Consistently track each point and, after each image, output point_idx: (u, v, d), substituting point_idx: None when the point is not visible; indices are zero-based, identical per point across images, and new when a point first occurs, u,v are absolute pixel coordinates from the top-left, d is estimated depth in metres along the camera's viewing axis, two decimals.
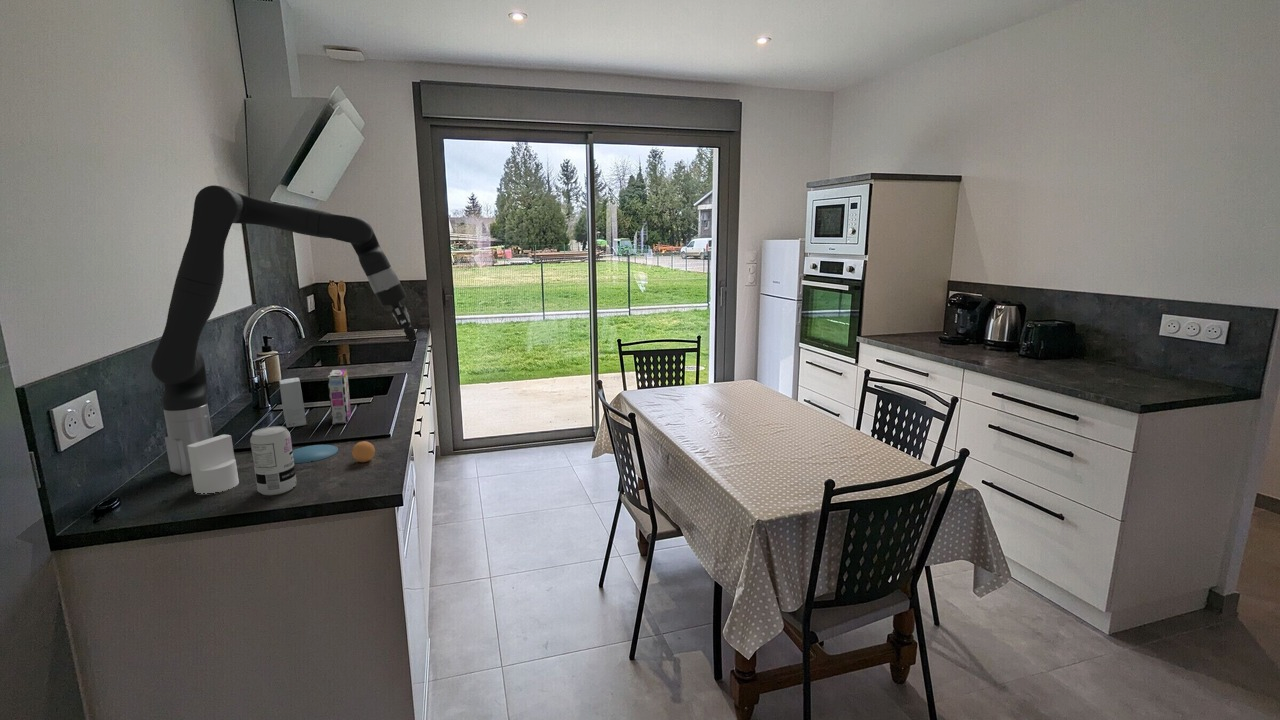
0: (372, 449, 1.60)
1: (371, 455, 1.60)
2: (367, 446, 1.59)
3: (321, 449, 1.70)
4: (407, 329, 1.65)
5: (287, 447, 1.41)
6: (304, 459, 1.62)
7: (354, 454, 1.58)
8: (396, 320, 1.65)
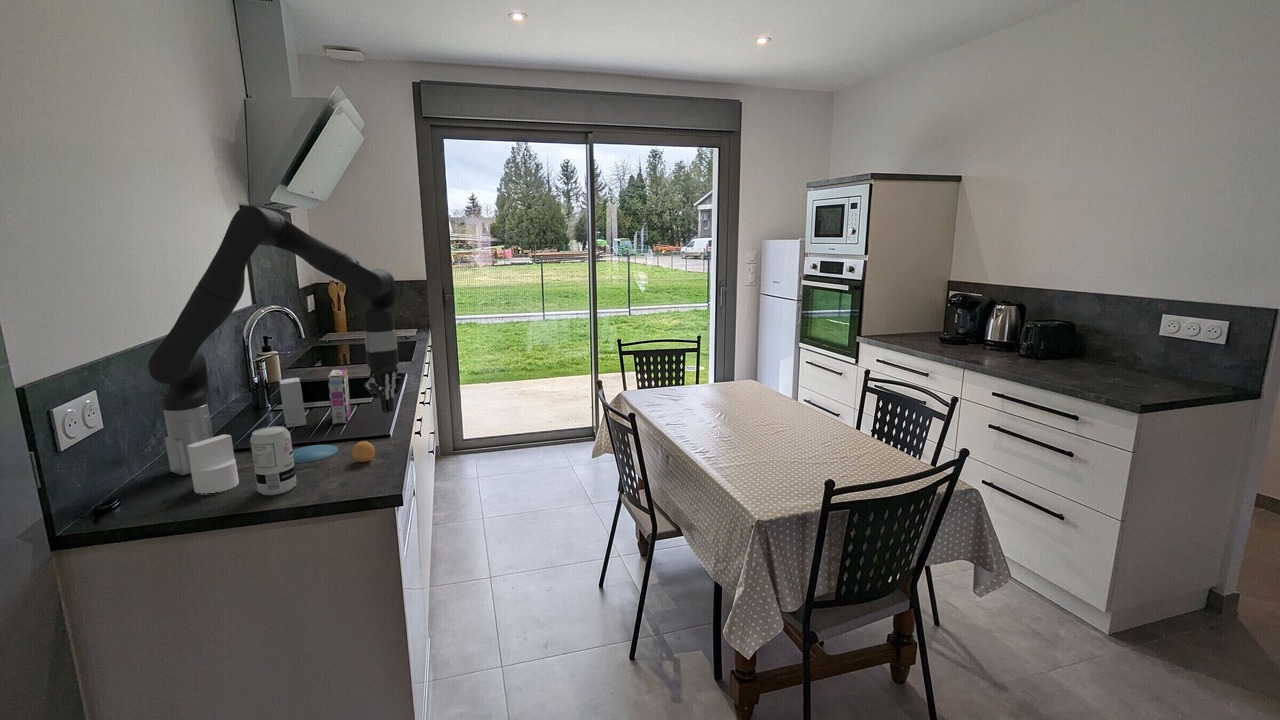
0: (372, 449, 1.60)
1: (371, 455, 1.60)
2: (367, 446, 1.59)
3: (321, 449, 1.70)
4: (382, 400, 1.53)
5: (287, 447, 1.41)
6: (304, 459, 1.62)
7: (354, 454, 1.58)
8: None
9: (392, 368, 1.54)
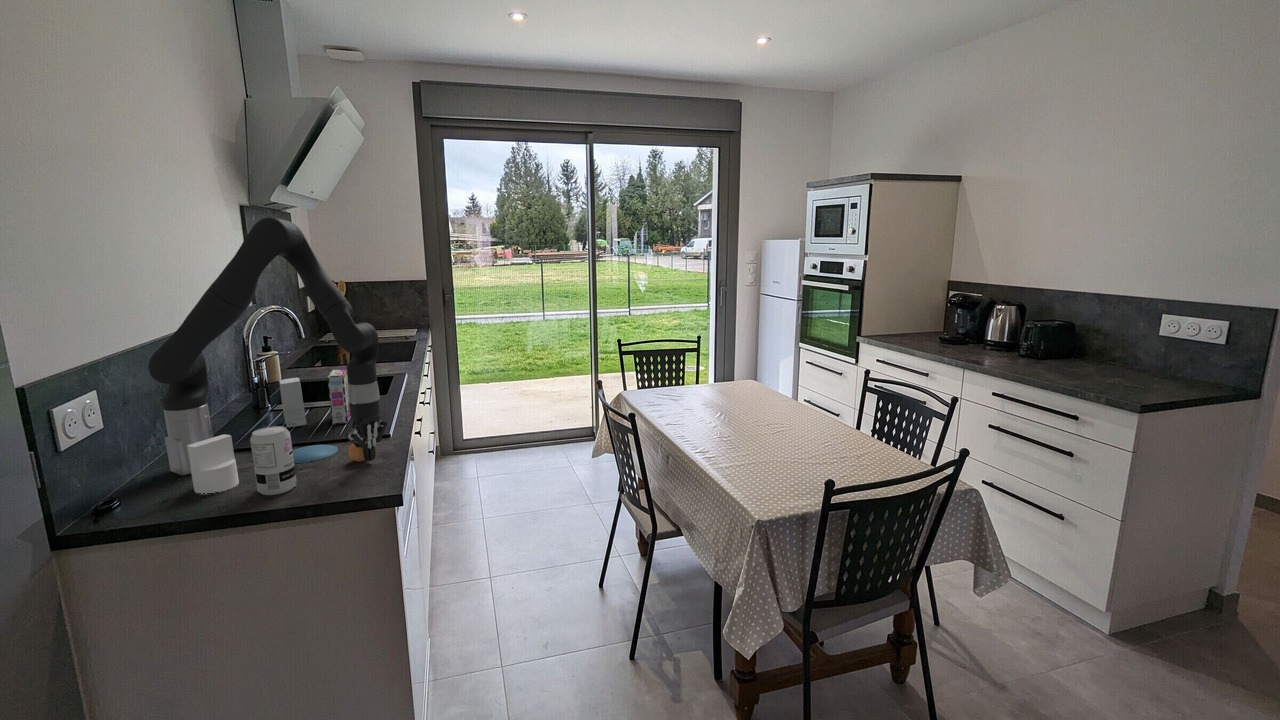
0: None
1: None
2: None
3: (321, 449, 1.70)
4: (364, 449, 1.57)
5: (287, 447, 1.41)
6: (304, 459, 1.62)
7: (350, 454, 1.58)
8: None
9: (374, 418, 1.59)
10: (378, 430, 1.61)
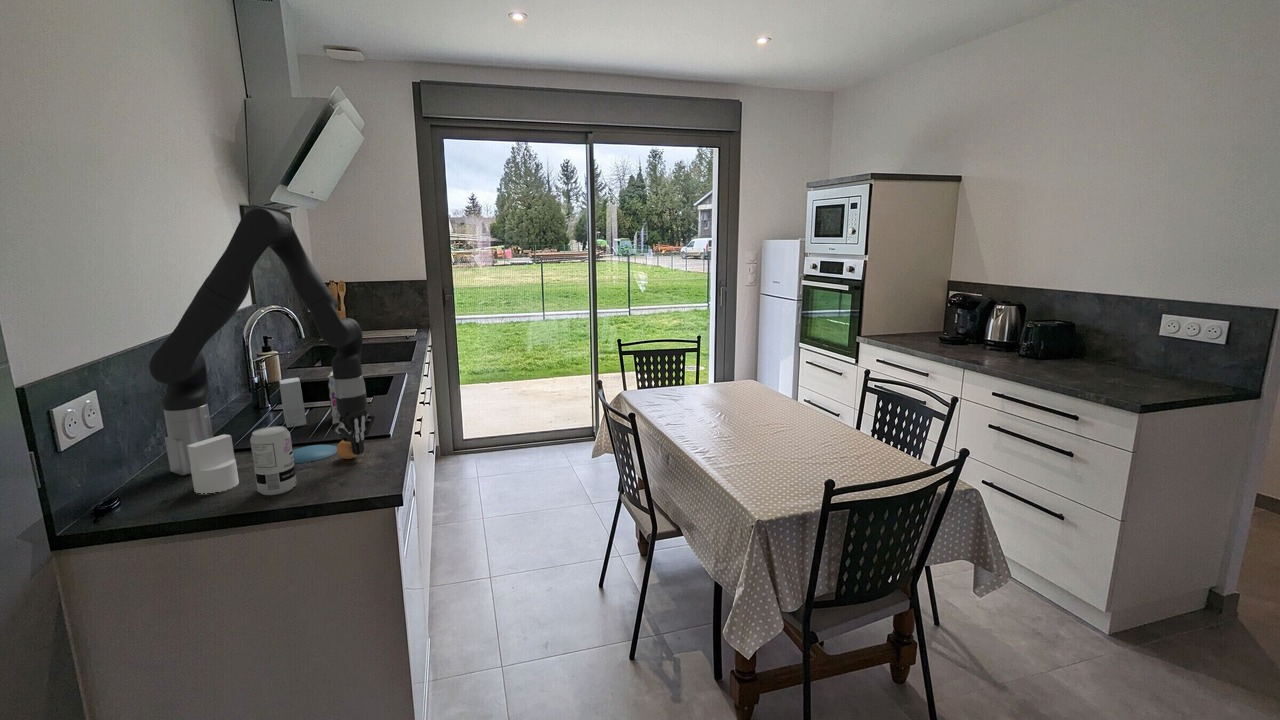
0: None
1: None
2: None
3: (321, 449, 1.70)
4: (352, 443, 1.59)
5: (287, 447, 1.41)
6: (304, 459, 1.62)
7: (339, 452, 1.60)
8: (345, 431, 1.59)
9: (361, 412, 1.60)
10: (366, 424, 1.63)
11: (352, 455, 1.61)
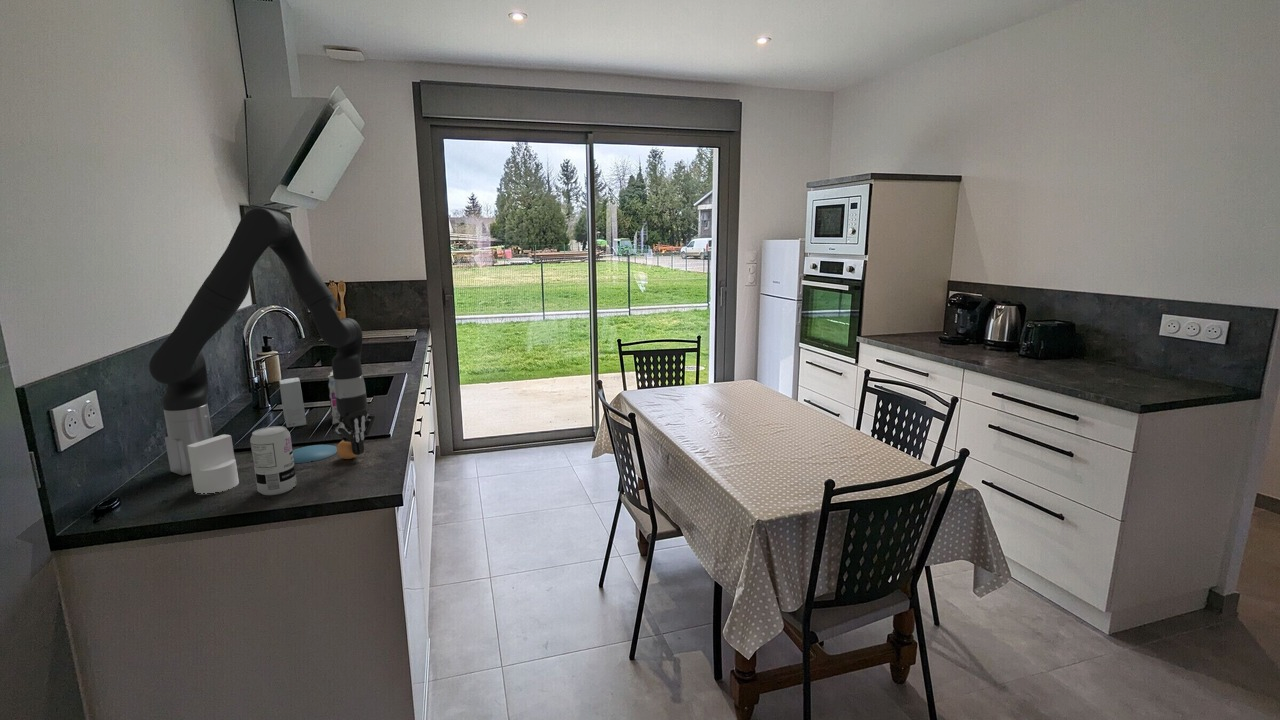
0: None
1: None
2: None
3: (321, 449, 1.70)
4: (352, 442, 1.59)
5: (287, 447, 1.41)
6: (304, 459, 1.62)
7: (339, 452, 1.60)
8: (345, 431, 1.59)
9: (361, 412, 1.60)
10: (366, 424, 1.63)
11: (352, 455, 1.61)
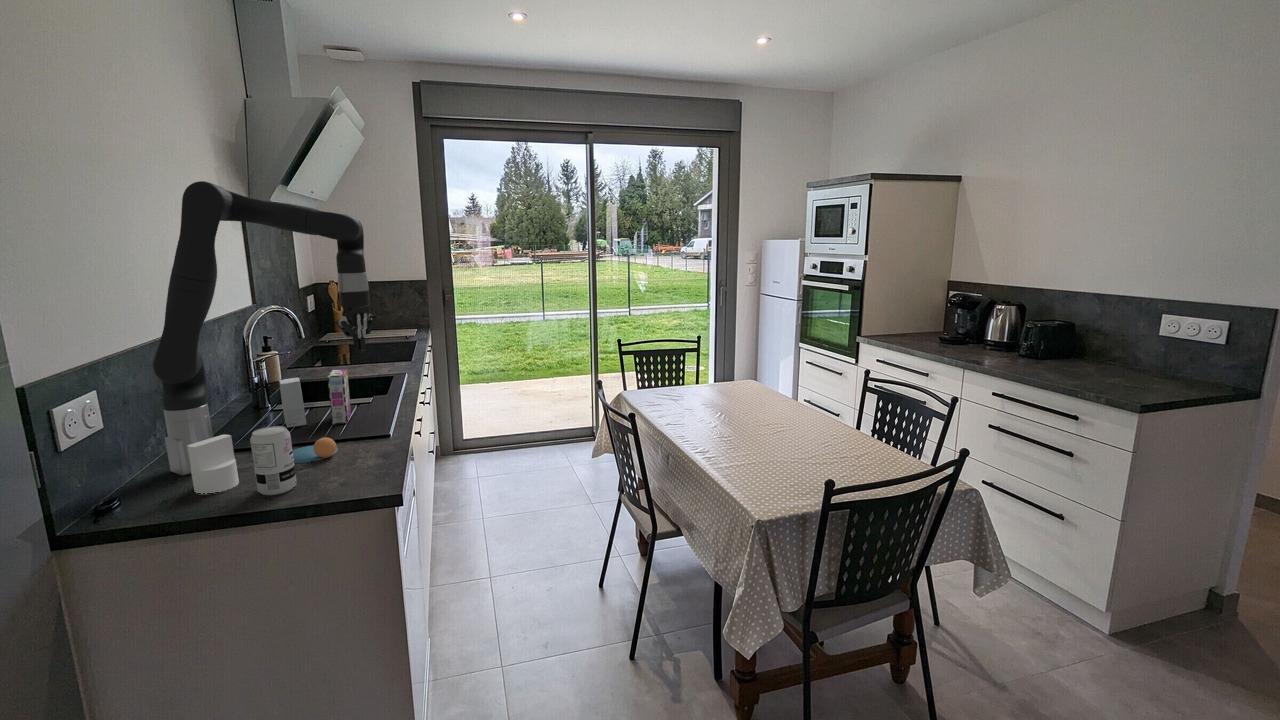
0: None
1: None
2: None
3: None
4: (354, 338, 1.63)
5: (287, 447, 1.41)
6: (304, 459, 1.62)
7: (320, 452, 1.61)
8: None
9: (364, 309, 1.64)
10: (368, 323, 1.67)
11: (318, 441, 1.62)
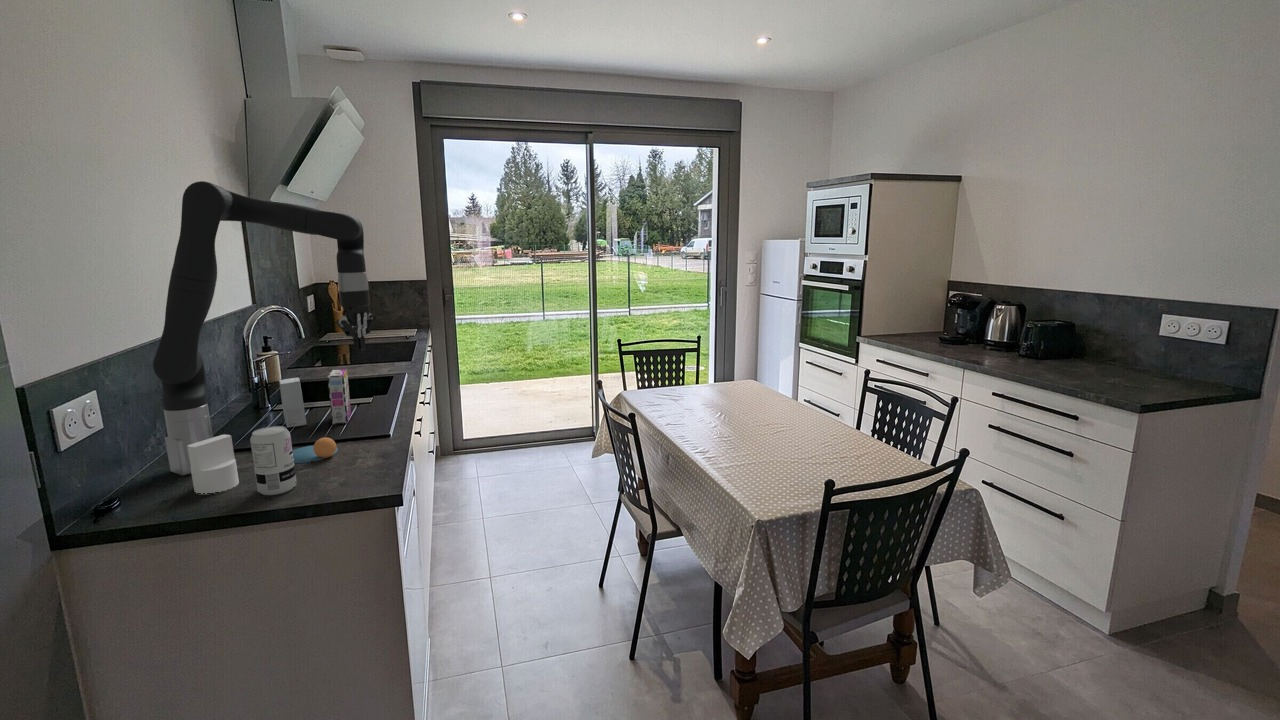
0: None
1: None
2: None
3: None
4: (354, 338, 1.63)
5: (287, 447, 1.41)
6: (304, 459, 1.62)
7: (320, 452, 1.61)
8: None
9: (364, 309, 1.65)
10: (368, 322, 1.67)
11: (318, 441, 1.62)
